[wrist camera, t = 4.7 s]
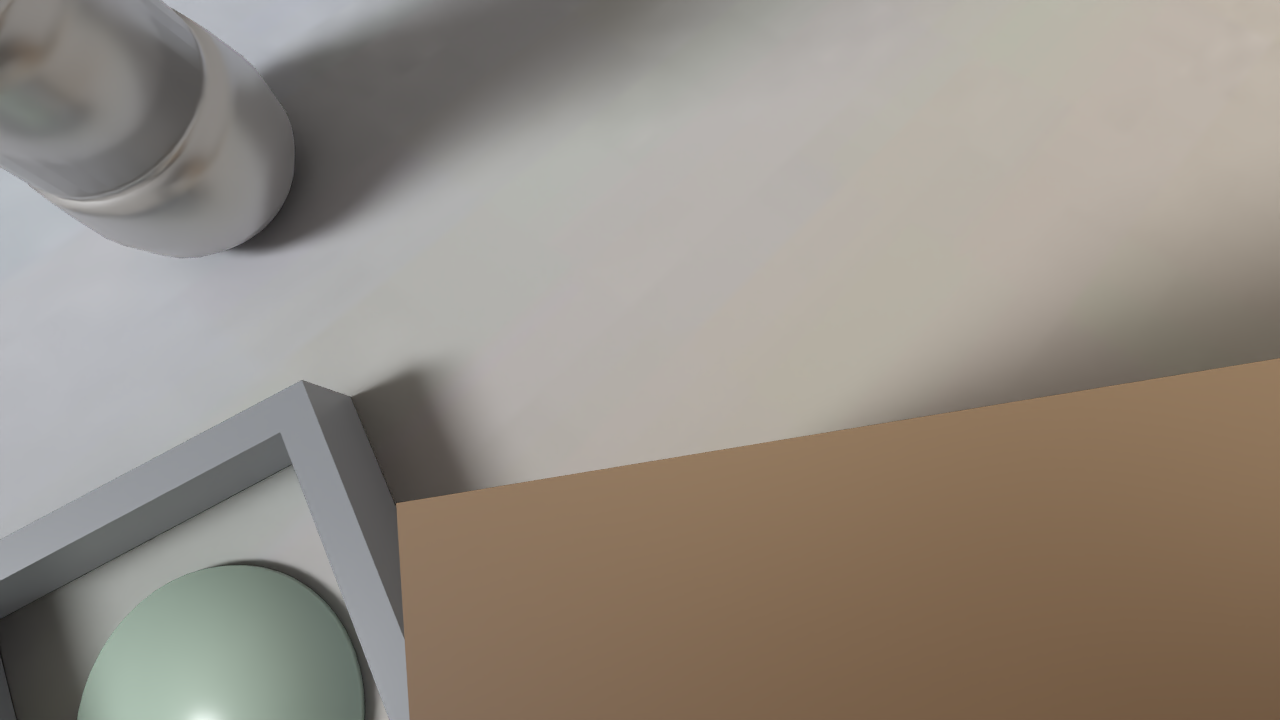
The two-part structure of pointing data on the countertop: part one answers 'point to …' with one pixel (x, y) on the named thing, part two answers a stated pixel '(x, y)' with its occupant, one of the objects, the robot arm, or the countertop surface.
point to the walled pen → (235, 577)
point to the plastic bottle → (141, 124)
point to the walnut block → (877, 571)
